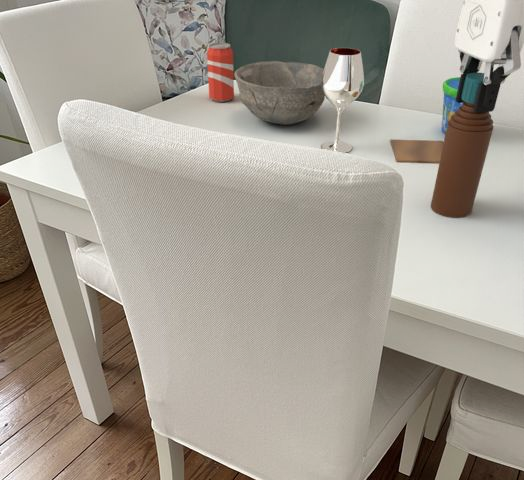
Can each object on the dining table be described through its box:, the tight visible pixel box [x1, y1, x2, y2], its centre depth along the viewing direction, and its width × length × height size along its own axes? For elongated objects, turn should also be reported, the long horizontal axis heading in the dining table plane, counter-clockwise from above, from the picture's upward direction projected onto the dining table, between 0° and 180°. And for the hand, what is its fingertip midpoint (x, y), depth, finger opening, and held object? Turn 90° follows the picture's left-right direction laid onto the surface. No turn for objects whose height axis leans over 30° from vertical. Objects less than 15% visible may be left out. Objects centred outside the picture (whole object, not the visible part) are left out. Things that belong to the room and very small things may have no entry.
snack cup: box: [441, 76, 464, 134], centre depth 120 cm, size 16×10×10 cm
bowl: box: [233, 60, 326, 126], centre depth 126 cm, size 21×21×10 cm
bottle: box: [430, 102, 494, 218], centre depth 90 cm, size 7×7×20 cm
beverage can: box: [206, 42, 235, 103], centre depth 137 cm, size 6×6×12 cm
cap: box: [461, 72, 484, 104], centre depth 84 cm, size 4×4×3 cm
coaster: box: [389, 139, 444, 164], centre depth 116 cm, size 11×11×1 cm
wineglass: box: [320, 47, 365, 154], centre depth 111 cm, size 8×8×18 cm
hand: (474, 105), depth 86 cm, fingers closed on cap, 4 cm apart
